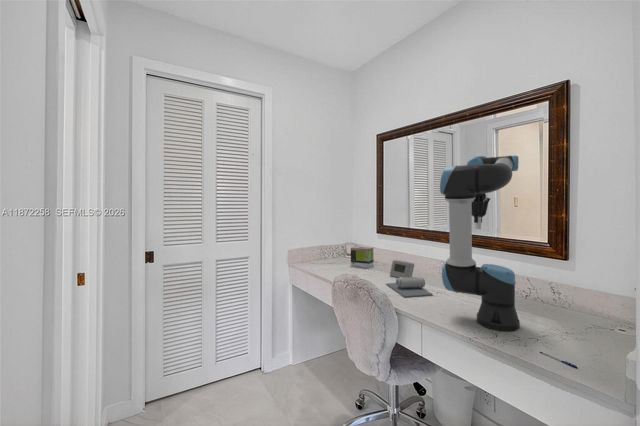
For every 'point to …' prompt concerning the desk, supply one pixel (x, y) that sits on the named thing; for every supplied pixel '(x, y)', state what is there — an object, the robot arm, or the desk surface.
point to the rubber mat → (409, 291)
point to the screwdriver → (561, 361)
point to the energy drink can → (410, 282)
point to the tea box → (362, 257)
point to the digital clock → (401, 269)
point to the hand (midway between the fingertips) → (477, 228)
